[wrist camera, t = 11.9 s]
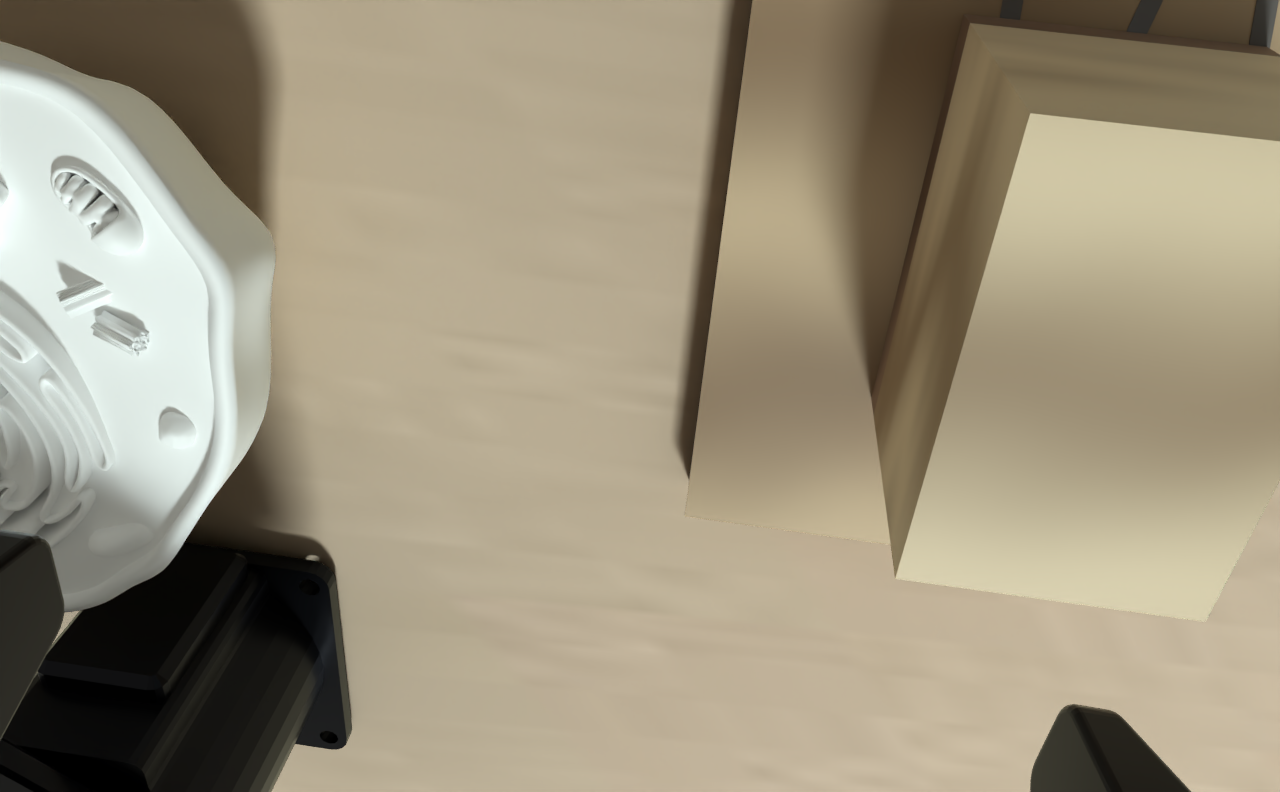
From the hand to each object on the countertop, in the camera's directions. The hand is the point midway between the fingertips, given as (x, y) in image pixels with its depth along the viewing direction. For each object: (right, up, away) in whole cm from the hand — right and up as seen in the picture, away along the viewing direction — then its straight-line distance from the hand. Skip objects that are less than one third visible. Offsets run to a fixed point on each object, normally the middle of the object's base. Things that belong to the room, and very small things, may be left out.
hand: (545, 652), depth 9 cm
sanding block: (+8, +5, +8) cm, 12 cm away
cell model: (-10, +5, +12) cm, 17 cm away
